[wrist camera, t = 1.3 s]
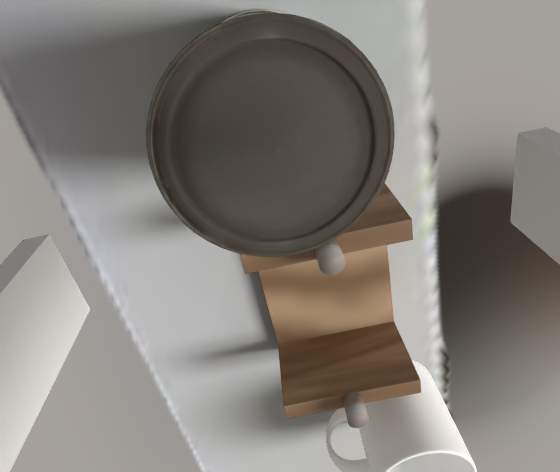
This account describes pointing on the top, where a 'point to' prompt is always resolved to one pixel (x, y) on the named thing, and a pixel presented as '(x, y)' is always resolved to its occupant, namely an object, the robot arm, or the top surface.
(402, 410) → the mug
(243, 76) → the coffee can
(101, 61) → the top surface
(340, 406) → the cradle
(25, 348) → the robot arm
